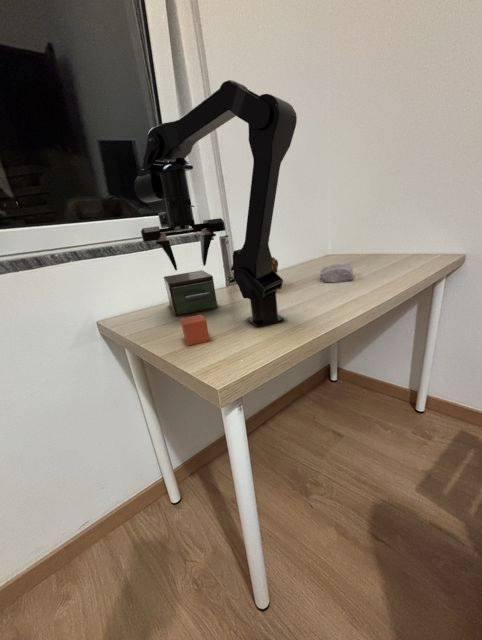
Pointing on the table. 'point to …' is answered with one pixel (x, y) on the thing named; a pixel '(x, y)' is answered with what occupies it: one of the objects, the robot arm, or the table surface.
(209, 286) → the drawer
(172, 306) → the cabinet
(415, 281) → the table surface
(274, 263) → the wooden carving
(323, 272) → the stone block
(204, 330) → the block
